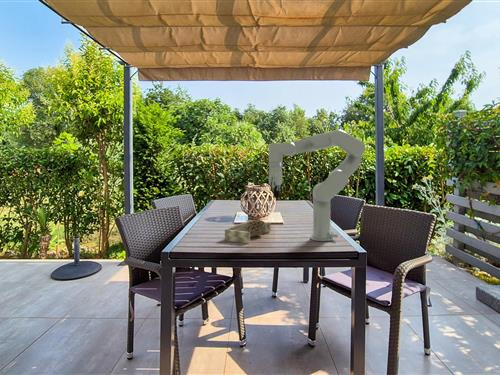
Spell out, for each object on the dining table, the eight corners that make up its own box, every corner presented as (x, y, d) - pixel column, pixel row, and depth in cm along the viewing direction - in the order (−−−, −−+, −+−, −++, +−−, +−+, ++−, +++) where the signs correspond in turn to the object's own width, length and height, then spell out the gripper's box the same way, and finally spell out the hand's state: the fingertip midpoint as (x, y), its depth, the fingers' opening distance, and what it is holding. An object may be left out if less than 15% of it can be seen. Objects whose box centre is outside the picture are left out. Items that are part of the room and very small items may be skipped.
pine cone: (262, 233, 199) (261, 217, 198) (269, 236, 190) (269, 219, 189) (228, 237, 189) (228, 220, 188) (234, 241, 181) (234, 223, 180)
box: (270, 232, 200) (270, 222, 200) (249, 243, 176) (249, 232, 175) (248, 229, 208) (248, 220, 207) (224, 240, 183) (224, 229, 182)
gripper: (274, 164, 190) (275, 195, 192) (264, 165, 177) (265, 198, 179) (286, 164, 187) (287, 195, 189) (277, 165, 174) (278, 199, 175)
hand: (276, 197), depth 184 cm, fingers closed
